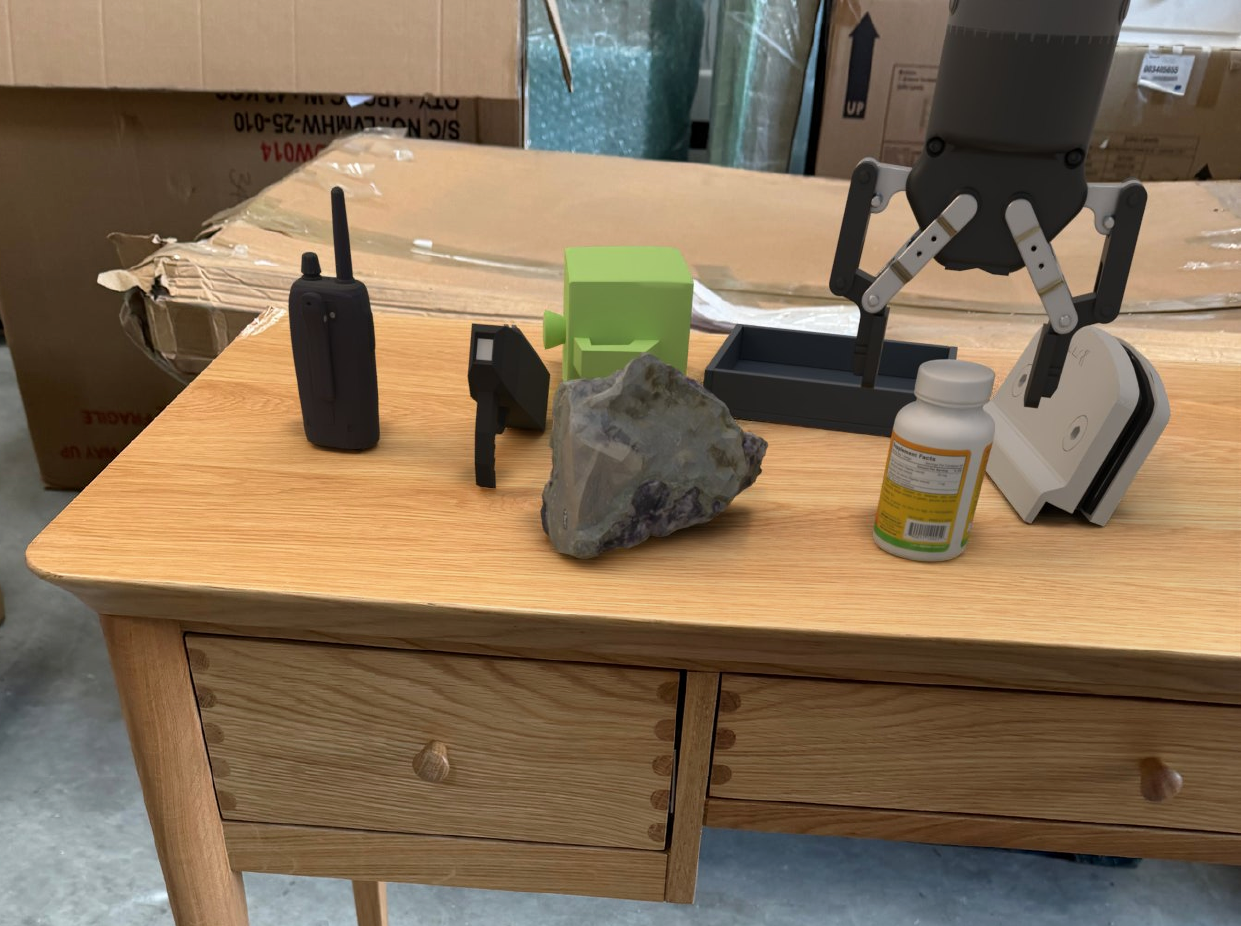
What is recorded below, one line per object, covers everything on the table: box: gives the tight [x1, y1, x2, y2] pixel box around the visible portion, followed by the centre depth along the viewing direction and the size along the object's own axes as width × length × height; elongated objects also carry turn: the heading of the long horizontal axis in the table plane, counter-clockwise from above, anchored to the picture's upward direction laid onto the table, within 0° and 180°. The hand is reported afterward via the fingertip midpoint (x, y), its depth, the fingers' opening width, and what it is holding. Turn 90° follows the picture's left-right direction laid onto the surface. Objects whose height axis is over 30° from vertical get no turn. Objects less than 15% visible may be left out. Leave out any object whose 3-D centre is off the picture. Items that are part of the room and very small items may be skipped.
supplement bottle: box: [872, 359, 996, 563], centre depth 65 cm, size 5×5×10 cm
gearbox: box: [542, 245, 695, 382], centre depth 85 cm, size 18×10×10 cm, turn 2°
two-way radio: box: [287, 185, 381, 452], centre depth 73 cm, size 6×4×15 cm
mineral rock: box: [539, 352, 769, 560], centre depth 65 cm, size 13×11×10 cm
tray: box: [702, 323, 959, 438], centre depth 87 cm, size 17×13×3 cm
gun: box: [467, 323, 551, 490], centre depth 76 cm, size 3×16×10 cm, turn 170°
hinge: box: [983, 325, 1172, 527], centre depth 75 cm, size 17×5×10 cm, turn 1°
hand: (947, 394), depth 63 cm, fingers open, 8 cm apart
